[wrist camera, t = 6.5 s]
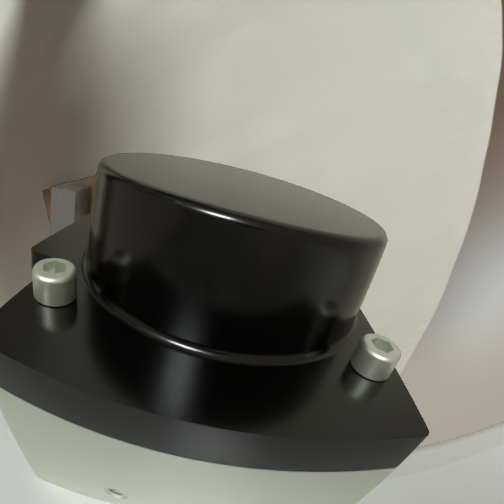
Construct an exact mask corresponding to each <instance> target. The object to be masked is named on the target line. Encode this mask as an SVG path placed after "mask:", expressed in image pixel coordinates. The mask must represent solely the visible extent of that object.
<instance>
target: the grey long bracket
mask: <svg viewBox="0 0 504 504" xmlns="http://www.w3.org/2000/svg"><path fill="white" fill-rule="evenodd" d="M90 191H91V186H87V185H81V184H76V183H70V182H67V183H64V184H60V185H57V186H54V187H52V190H51V214H50V236H51V235H53V234H55V233H56V232H58V231H60V230H62V229H63V228H65V227H67V226H69V225H70V224H72V223H74V222H76V221H77V220H79V219H81V218H83V217H85V216H87V215H88V214H89V203H90Z"/></svg>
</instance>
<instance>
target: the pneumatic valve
mask: <svg viewBox="0 0 504 504" xmlns="http://www.w3.org/2000/svg"><path fill="white" fill-rule="evenodd" d="M387 241H388V240H387V235H386V232H385V231H384V229H383V228H382V227H381V226H380V225H379V224H377V223H376V222H375V221H374V220H372V219H371V218H369V217H368V216H366V215H364V214H362V213H361V212H359V211H357V210H355V209H353V208H351V207H349V206H347V205H345V204H343V203H341V202H338V201H336V200H334V199H332V198H329V197H327V196H324V195H322V194H319V193H317V192H314V191H312V190H309V189H306V188H303V187H301V186H298V185H295V184H292V183H289V182H286V181H283V180H280V179H276V178H273V177H270V176H266V175H263V174H259V173H256V172H252V171H248V170H244V169H240V168H236V167H232V166H228V165H223V164H219V163H214V162H209V161H204V160H199V159H193V158H187V157H180V156H173V155H164V154H154V153H119V154H113V155H110V156H107V157H105V158H104V159H102V160H101V161H100V163H99V165H98V168H97V174H96V181H95V188H94V195H93V203H92V211H91V213H90V214H88V215H87V216H85V217H83V218H81V219H79V220H77V221H76V222H74V223H72V224H70V225H69V226H67V227H65V228H63V229H62V230H60V231H58V232H56V233H55V234H53V235H51V236H50V237H48V238H46V239H45V240H43V241H41V242H40V243H38V244H36V245H35V246H33V247H32V248H31V255H32V280H33V281H32V282H31V283H30V284H28V285H27V286H26V287H25V288H23V289H22V290H21V291H20V292H19V293H17V294H16V295H15V296H14V297H13V298H11V299H10V300H9V301H8V302H7V303H6V304H5V305H3V306H2V307H1V308H0V409H1V411H2V413H3V416H4V418H5V420H6V422H7V424H8V426H9V428H10V430H11V432H12V434H13V436H14V438H15V440H16V442H17V444H18V446H19V448H20V450H21V451H22V453H23V455H24V457H25V459H26V460H27V462H28V464H29V465H30V467H31V469H32V470H33V472H34V474H35V475H36V477H37V478H39V479H41V480H44V481H46V482H49V483H51V484H53V485H56V486H59V487H61V488H64V489H67V490H69V491H72V492H75V493H78V494H81V495H84V496H87V497H90V498H94V499H97V500H100V501H104V502H108V503H111V504H356V503H357V502H358V501H360V500H361V499H362V498H363V497H365V496H366V495H367V494H368V493H369V492H371V491H372V490H373V489H374V488H375V487H376V486H378V485H379V484H380V483H381V482H382V481H383V480H384V479H385V478H386V477H388V476H389V475H390V474H391V473H392V472H393V471H394V470H395V469H396V468H397V467H398V466H399V465H400V464H401V463H402V462H403V461H404V460H405V459H406V458H407V457H408V456H409V455H410V454H411V453H412V452H413V451H414V450H415V449H416V448H417V447H418V446H419V445H420V443H421V442H422V441H423V440H424V439H425V438H426V437H427V436H428V434H429V430H428V428H427V426H426V424H425V422H424V420H423V418H422V417H421V414H420V413H419V411H418V409H417V407H416V405H415V403H414V401H413V399H412V397H411V396H410V394H409V392H408V390H407V388H406V386H405V385H404V383H403V381H402V380H401V377H400V376H399V374H398V372H397V370H396V369H395V366H396V365H397V363H398V361H399V360H400V357H401V352H400V349H399V348H398V346H397V345H396V344H395V343H394V342H393V341H391V340H390V339H388V338H386V337H384V336H382V335H378V334H375V332H374V331H373V329H372V327H371V326H370V324H369V322H368V321H367V319H366V317H365V316H364V314H363V313H362V311H361V309H360V307H361V304H362V302H363V300H364V298H365V295H366V293H367V291H368V289H369V286H370V284H371V282H372V279H373V277H374V275H375V272H376V270H377V267H378V265H379V262H380V260H381V257H382V255H383V252H384V250H385V247H386V244H387Z"/></svg>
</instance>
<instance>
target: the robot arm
mask: <svg viewBox="0 0 504 504" xmlns="http://www.w3.org/2000/svg"><path fill="white" fill-rule="evenodd" d="M0 504H111V503H108V502H104V501H100V500H97V499H94V498H90V497H87V496H84V495H81V494H78V493H75V492H72V491H69V490H67V489H64V488H61V487H59V486H56V485H53V484H51V483H49V482H46V481H44V480H41V479H39V478H37V477H36V475H35V474H34V472H33V470H32V469H31V467H30V465H29V464H28V462H27V460H26V459H25V457H24V455H23V453H22V451H21V450H20V448H19V446H18V444H17V442H16V440H15V438H14V436H13V434H12V432H11V430H10V428H9V426H8V424H7V422H6V420H5V418H4V416H3V413H2V411H1V409H0ZM356 504H504V422H501V423H498V424H496V425H493V426H490V427H488V428H485V429H482V430H479V431H476V432H473V433H470V434H467V435H463V436H460V437H456V438H453V439H449V440H446V441H442V442H438V443H434V444H430V445H426V446H421V447H417V448H416V449H415V450H414V451H413V452H412V453H411V454H410V455H409V456H408V457H407V458H406V459H405V460H404V461H403V462H402V463H401V464H400V465H399V466H398V467H397V468H396V469H395V470H394V471H393V472H392V473H391V474H390V475H389V476H388V477H386V478H385V479H384V480H383V481H382V482H381V483H380V484H379V485H378V486H376V487H375V488H374V489H373V490H372V491H371V492H369V493H368V494H367V495H366V496H365V497H363V498H362V499H361V500H360V501H358V502H357V503H356Z"/></svg>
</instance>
